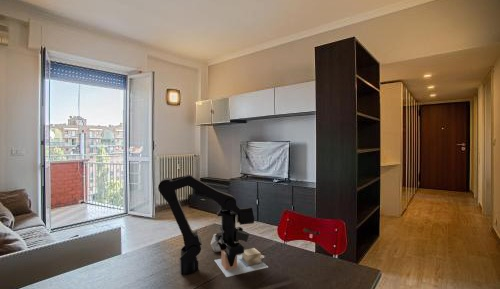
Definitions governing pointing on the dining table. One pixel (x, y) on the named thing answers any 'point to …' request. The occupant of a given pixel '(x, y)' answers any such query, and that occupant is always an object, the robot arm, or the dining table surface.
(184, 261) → the robot arm
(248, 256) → the birch base block
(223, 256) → the terracotta block
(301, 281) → the dining table surface
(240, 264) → the blueprint board
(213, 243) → the die
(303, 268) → the dining table surface
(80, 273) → the dining table surface
